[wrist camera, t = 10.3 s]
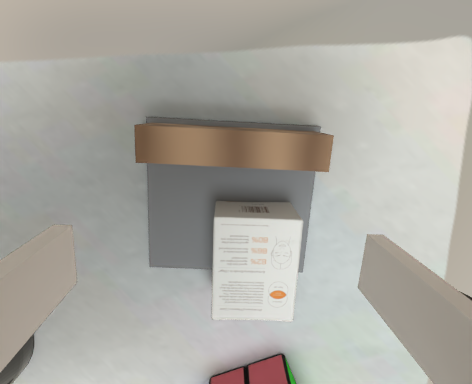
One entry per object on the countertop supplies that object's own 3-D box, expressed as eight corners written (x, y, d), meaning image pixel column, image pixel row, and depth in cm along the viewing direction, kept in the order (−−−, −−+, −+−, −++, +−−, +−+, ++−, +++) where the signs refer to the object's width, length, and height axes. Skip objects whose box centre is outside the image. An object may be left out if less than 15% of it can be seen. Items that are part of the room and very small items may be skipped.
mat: (150, 264, 33) (149, 266, 33) (147, 117, 29) (146, 117, 29) (301, 269, 34) (302, 272, 33) (318, 126, 30) (320, 126, 29)
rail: (153, 152, 30) (135, 162, 24) (153, 122, 30) (134, 125, 24) (309, 160, 31) (328, 171, 25) (313, 131, 30) (333, 135, 24)
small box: (215, 198, 31) (212, 288, 34) (213, 216, 26) (209, 321, 28) (292, 201, 31) (282, 290, 34) (305, 220, 26) (293, 323, 29)
